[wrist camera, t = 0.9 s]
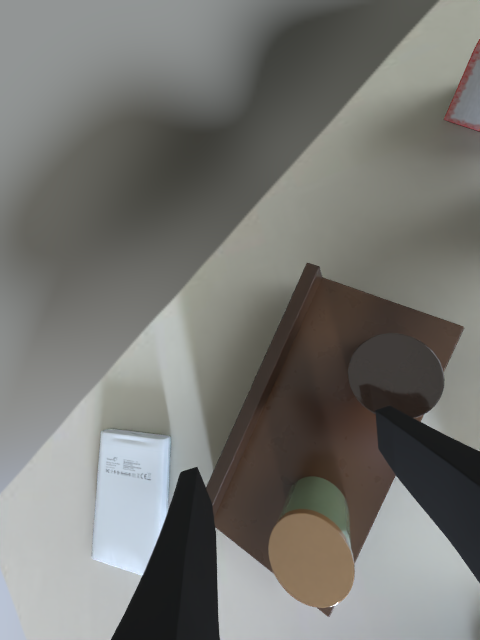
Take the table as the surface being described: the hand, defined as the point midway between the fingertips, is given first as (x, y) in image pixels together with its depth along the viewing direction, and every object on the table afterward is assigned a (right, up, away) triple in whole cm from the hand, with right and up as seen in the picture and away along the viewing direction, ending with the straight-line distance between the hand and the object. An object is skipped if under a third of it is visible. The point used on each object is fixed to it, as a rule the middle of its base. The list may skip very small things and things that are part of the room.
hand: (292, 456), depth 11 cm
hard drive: (-13, -13, +19) cm, 26 cm away
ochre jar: (+8, +2, +9) cm, 12 cm away
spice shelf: (+5, -4, +13) cm, 15 cm away
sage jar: (+4, -8, +10) cm, 13 cm away
